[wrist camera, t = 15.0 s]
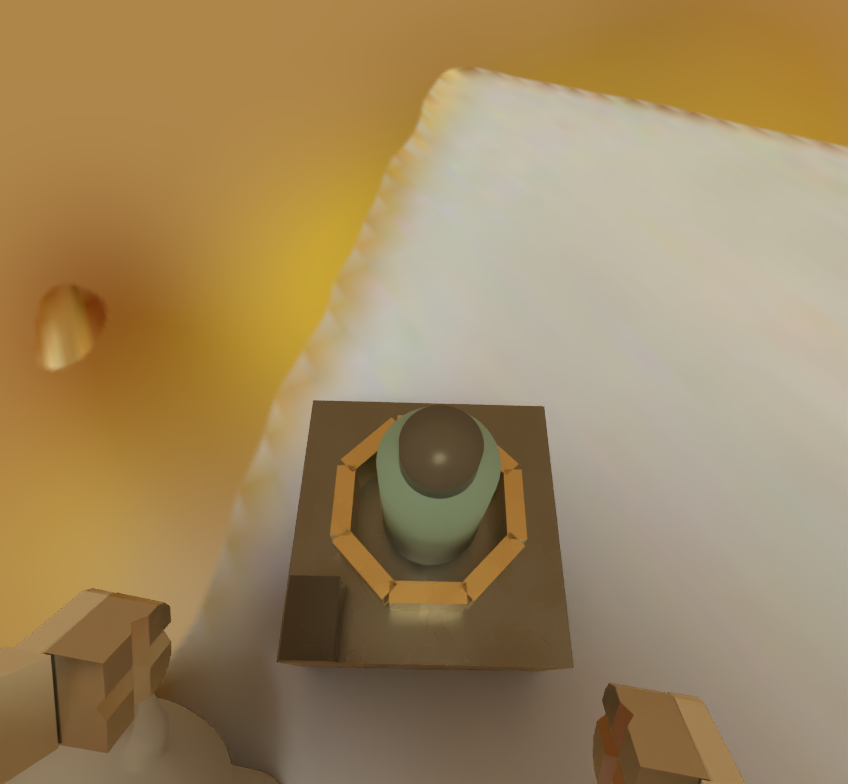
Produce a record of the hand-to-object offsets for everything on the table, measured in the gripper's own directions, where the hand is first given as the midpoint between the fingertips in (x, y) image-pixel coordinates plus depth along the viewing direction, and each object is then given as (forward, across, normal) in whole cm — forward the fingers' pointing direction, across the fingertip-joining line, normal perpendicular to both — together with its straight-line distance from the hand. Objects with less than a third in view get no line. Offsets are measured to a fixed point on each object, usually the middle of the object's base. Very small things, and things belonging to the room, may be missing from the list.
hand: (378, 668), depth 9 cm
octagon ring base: (+18, 0, +8) cm, 20 cm away
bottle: (+14, 0, +4) cm, 14 cm away
